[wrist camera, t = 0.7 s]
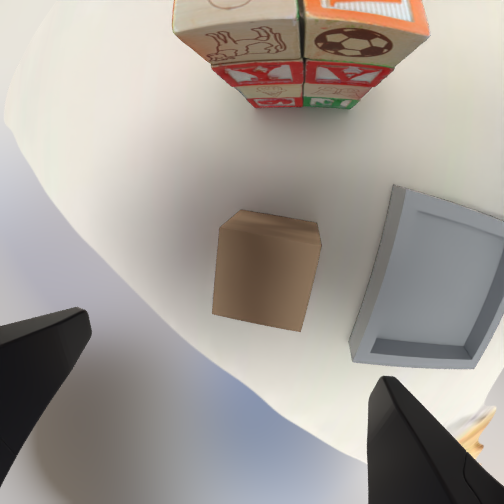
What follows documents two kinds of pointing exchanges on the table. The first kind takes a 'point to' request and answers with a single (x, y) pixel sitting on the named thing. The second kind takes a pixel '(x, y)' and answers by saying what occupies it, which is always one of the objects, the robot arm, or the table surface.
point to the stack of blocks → (302, 45)
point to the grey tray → (432, 286)
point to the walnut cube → (265, 269)
